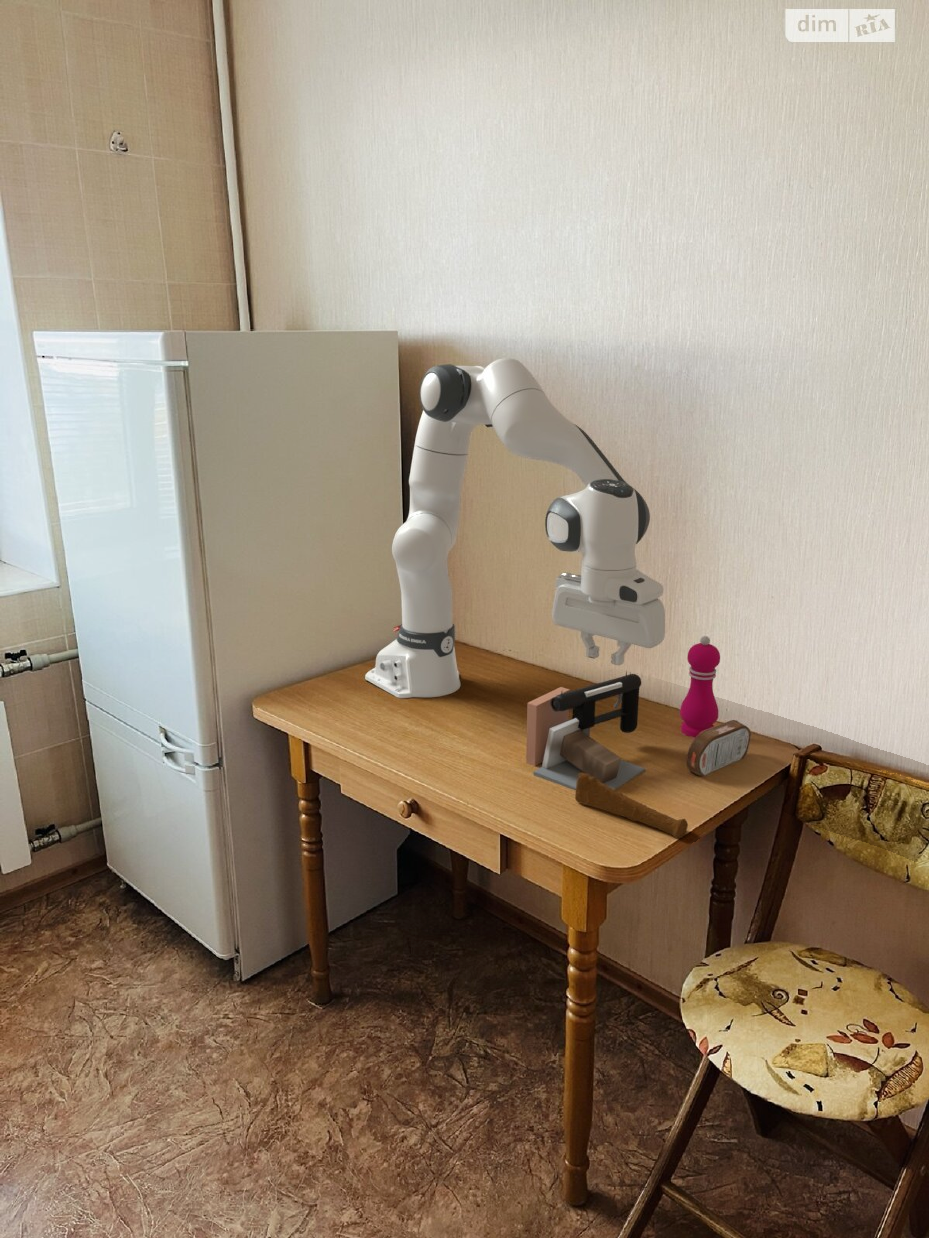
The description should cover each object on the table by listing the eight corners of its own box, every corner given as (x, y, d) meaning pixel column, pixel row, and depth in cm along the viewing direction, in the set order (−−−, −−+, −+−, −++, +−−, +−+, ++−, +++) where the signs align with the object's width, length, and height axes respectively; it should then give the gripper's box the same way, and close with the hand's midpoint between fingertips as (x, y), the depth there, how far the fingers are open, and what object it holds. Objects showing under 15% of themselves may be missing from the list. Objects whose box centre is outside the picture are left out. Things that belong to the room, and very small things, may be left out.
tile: (525, 763, 167) (526, 702, 164) (558, 745, 174) (560, 686, 171) (534, 767, 166) (536, 705, 162) (567, 748, 173) (569, 689, 169)
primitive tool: (576, 799, 153) (566, 808, 150) (579, 769, 151) (569, 777, 148) (687, 837, 143) (680, 846, 141) (692, 805, 142) (685, 814, 139)
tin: (737, 755, 170) (741, 713, 168) (751, 761, 168) (756, 719, 165) (683, 778, 162) (686, 734, 159) (697, 785, 160) (701, 741, 157)
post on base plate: (549, 728, 160) (596, 760, 153) (588, 712, 166) (634, 743, 159) (542, 766, 164) (587, 799, 157) (579, 749, 170) (625, 780, 163)
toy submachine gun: (547, 771, 165) (549, 688, 160) (629, 743, 176) (634, 664, 171) (559, 778, 163) (562, 694, 158) (641, 750, 173) (646, 670, 168)
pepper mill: (705, 745, 174) (714, 645, 168) (671, 734, 179) (678, 637, 173) (723, 732, 179) (732, 635, 173) (689, 722, 184) (696, 627, 178)
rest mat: (533, 776, 163) (533, 771, 162) (579, 750, 173) (579, 745, 172) (600, 802, 154) (600, 797, 153) (644, 773, 164) (644, 768, 163)
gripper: (545, 574, 155) (543, 651, 159) (652, 596, 142) (647, 680, 146) (567, 566, 160) (565, 642, 164) (672, 587, 147) (667, 669, 151)
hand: (604, 660), depth 155 cm, fingers open, 4 cm apart
